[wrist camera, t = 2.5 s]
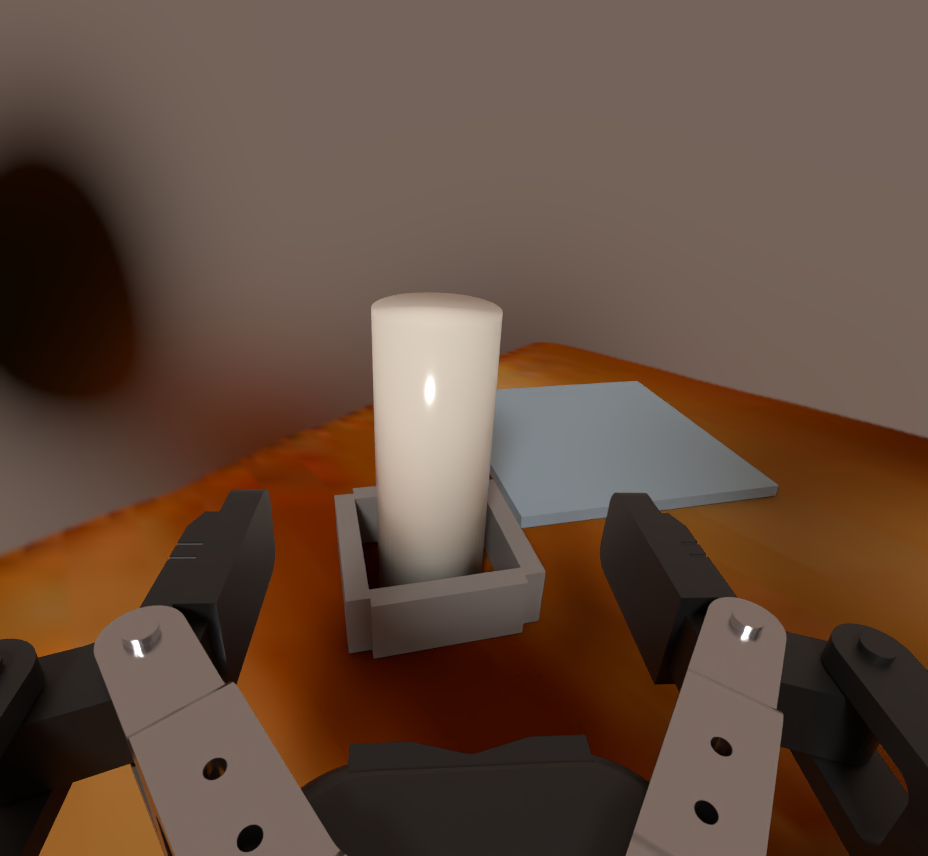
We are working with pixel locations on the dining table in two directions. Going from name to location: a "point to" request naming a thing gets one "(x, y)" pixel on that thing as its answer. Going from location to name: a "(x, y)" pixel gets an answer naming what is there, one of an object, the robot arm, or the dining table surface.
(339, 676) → the dining table surface
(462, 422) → the cream tall cylinder
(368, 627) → the cup holder
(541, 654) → the dining table surface
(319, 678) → the dining table surface
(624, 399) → the mat
